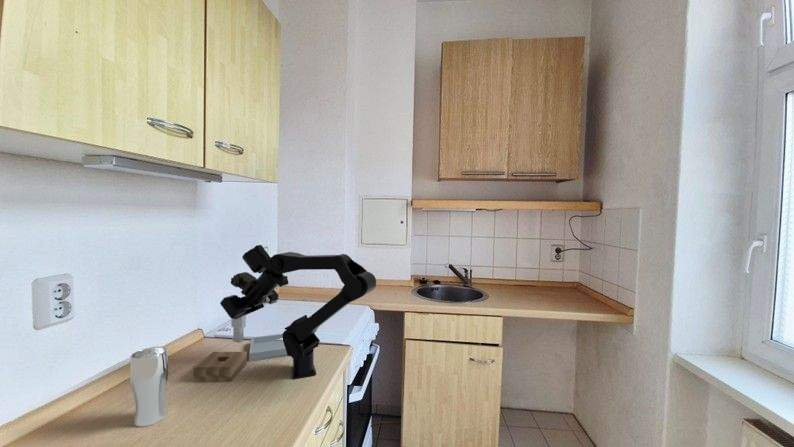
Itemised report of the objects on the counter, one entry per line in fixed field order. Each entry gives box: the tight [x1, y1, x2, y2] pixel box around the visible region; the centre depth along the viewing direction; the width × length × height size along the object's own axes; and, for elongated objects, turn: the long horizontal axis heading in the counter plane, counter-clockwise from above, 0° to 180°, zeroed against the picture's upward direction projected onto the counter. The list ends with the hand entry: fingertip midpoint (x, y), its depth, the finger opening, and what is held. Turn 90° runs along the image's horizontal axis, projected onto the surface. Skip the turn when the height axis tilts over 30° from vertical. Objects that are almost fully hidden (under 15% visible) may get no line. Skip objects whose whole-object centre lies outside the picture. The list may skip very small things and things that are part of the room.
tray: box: [248, 333, 289, 362], centre depth 112 cm, size 14×14×2 cm
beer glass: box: [129, 346, 170, 428], centre depth 74 cm, size 7×7×15 cm
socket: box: [193, 351, 248, 383], centre depth 96 cm, size 10×10×4 cm
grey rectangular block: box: [230, 315, 247, 343], centre depth 103 cm, size 4×2×11 cm, turn 71°
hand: (236, 317), depth 103 cm, fingers closed on grey rectangular block, 2 cm apart
